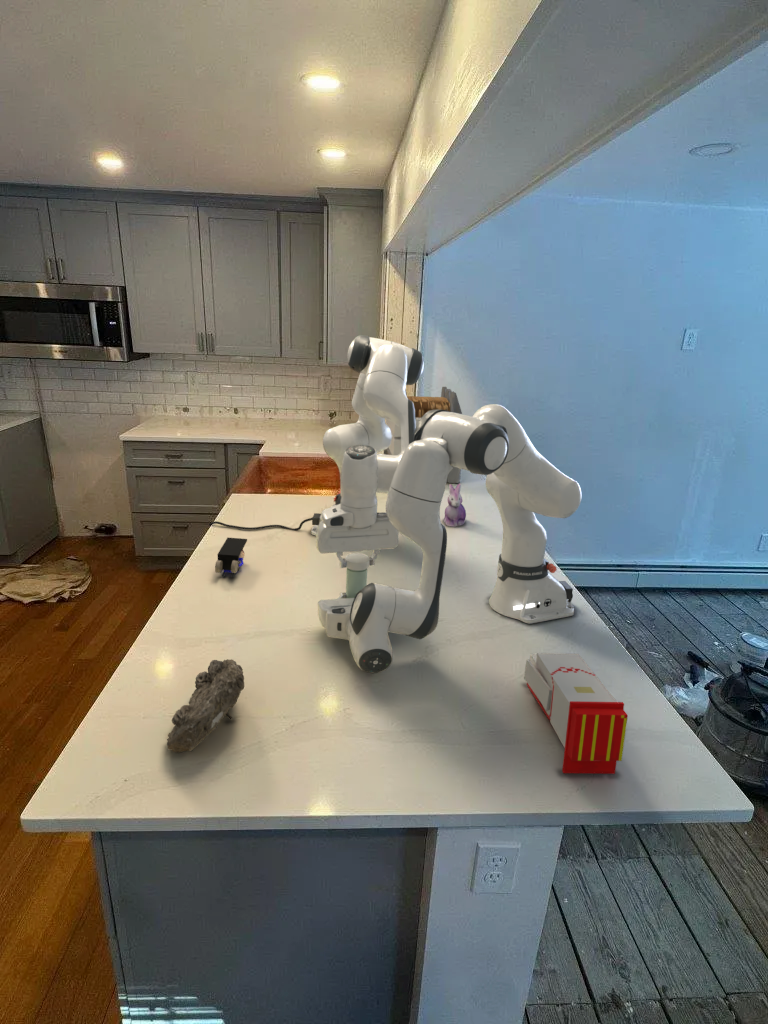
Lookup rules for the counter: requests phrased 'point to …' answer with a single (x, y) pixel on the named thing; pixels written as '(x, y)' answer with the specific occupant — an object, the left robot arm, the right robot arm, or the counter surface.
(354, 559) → the lid
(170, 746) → the fossil
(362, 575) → the jar
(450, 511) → the figurine
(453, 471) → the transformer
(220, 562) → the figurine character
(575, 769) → the toy
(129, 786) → the counter surface
